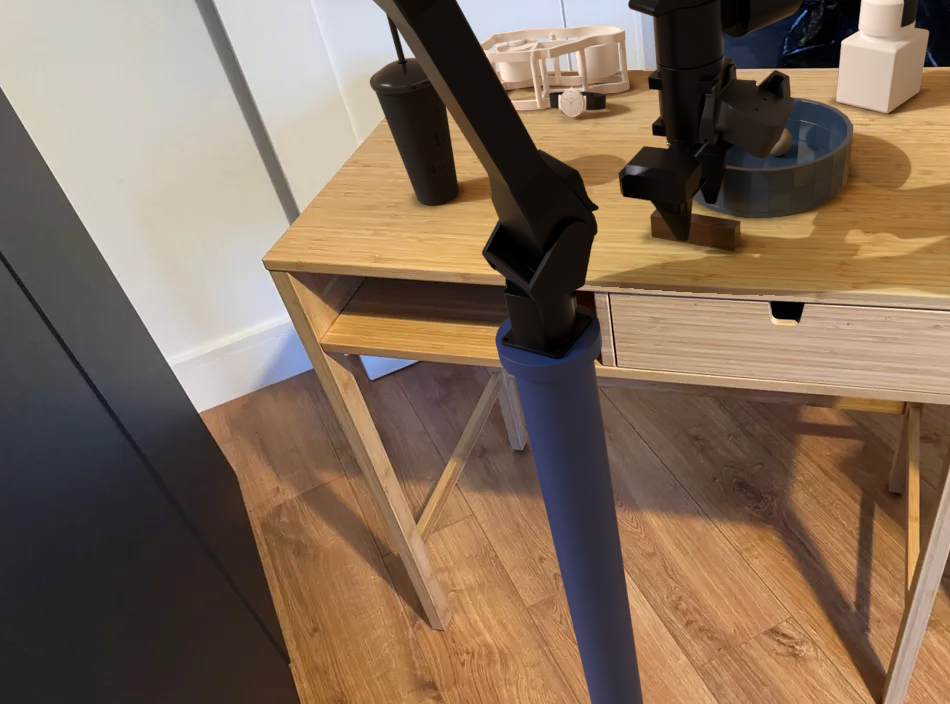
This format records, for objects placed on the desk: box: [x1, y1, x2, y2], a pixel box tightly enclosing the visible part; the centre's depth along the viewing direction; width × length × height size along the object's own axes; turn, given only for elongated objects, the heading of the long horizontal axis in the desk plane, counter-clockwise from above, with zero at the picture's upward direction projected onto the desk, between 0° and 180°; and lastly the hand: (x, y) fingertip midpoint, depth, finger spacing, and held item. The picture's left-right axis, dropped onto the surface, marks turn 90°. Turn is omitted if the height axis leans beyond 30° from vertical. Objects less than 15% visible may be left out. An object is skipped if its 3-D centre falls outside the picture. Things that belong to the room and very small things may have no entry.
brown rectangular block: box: [649, 208, 742, 252], centre depth 80 cm, size 2×9×2 cm, turn 61°
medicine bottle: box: [835, 0, 930, 115], centre depth 94 cm, size 7×7×12 cm
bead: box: [770, 128, 792, 156], centre depth 89 cm, size 3×3×3 cm
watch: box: [549, 86, 607, 118], centre depth 104 cm, size 8×5×4 cm, turn 67°
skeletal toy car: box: [479, 24, 630, 111], centre depth 109 cm, size 20×11×7 cm, turn 78°
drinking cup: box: [369, 13, 460, 206], centre depth 87 cm, size 8×8×20 cm
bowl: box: [693, 96, 854, 218], centre depth 86 cm, size 17×17×5 cm
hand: (697, 221), depth 80 cm, fingers open, 7 cm apart
